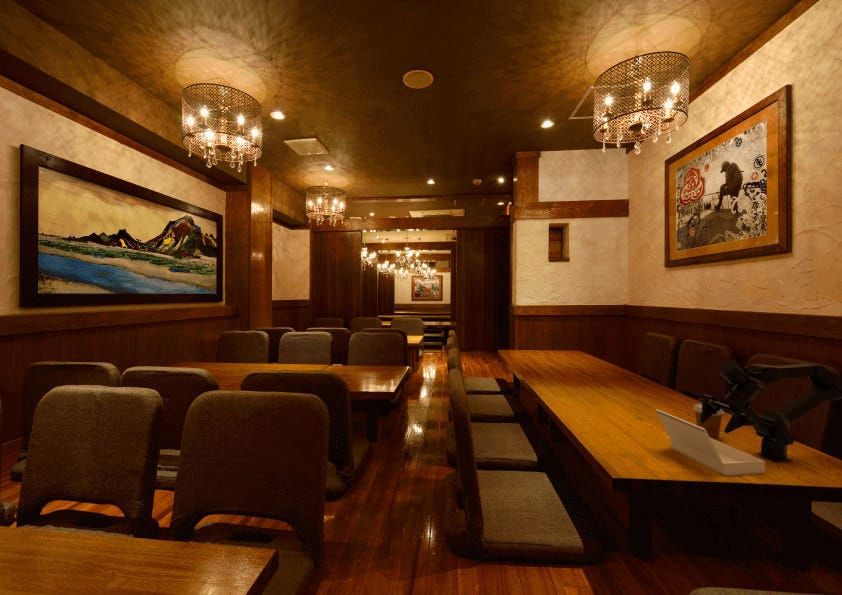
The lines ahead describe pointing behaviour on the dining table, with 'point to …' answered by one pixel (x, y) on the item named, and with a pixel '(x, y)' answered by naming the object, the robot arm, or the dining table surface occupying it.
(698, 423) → the disposable coffee cup
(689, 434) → the flap
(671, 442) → the carton
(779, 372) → the robot arm
